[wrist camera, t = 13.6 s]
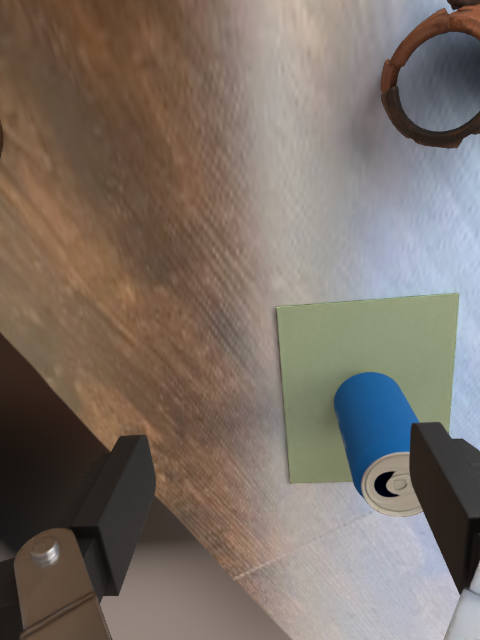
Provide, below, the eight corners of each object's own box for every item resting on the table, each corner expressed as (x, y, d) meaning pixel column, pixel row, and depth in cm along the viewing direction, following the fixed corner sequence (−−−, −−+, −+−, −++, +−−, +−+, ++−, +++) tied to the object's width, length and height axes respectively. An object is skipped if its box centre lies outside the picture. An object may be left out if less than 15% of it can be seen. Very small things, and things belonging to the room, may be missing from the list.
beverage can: (327, 374, 40) (348, 456, 29) (396, 362, 39) (446, 441, 28) (338, 430, 42) (362, 527, 31) (404, 420, 41) (453, 515, 30)
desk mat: (290, 481, 45) (290, 483, 45) (276, 306, 39) (276, 307, 38) (444, 476, 44) (445, 478, 43) (458, 292, 37) (459, 293, 37)
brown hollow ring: (515, 130, 33) (509, 160, 27) (390, 130, 37) (363, 156, 31) (568, -79, 26) (574, -98, 20) (407, -49, 30) (376, -58, 25)
